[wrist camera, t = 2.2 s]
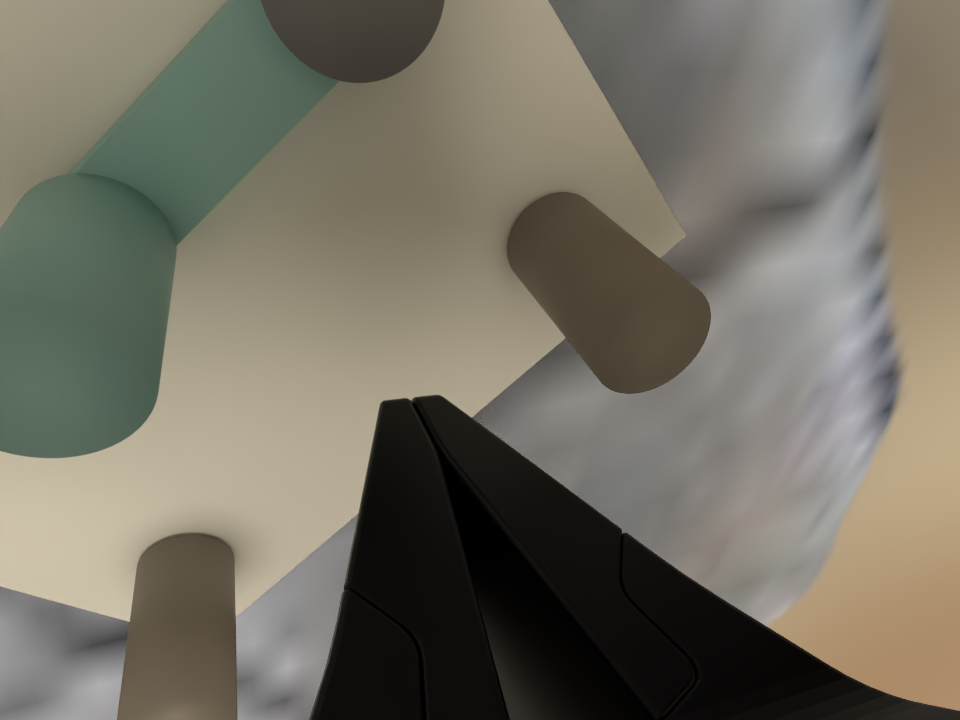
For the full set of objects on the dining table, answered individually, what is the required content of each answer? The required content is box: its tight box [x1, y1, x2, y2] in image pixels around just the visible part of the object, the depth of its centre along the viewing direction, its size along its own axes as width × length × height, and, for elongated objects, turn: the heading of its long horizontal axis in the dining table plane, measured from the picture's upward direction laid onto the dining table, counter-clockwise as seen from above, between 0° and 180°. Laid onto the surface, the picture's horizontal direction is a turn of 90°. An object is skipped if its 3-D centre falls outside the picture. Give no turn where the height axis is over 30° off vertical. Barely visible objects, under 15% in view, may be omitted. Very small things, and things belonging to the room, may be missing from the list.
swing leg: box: [0, 0, 445, 458], centre depth 9 cm, size 9×3×5 cm, turn 128°
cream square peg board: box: [0, 0, 711, 720], centre depth 11 cm, size 18×18×6 cm
